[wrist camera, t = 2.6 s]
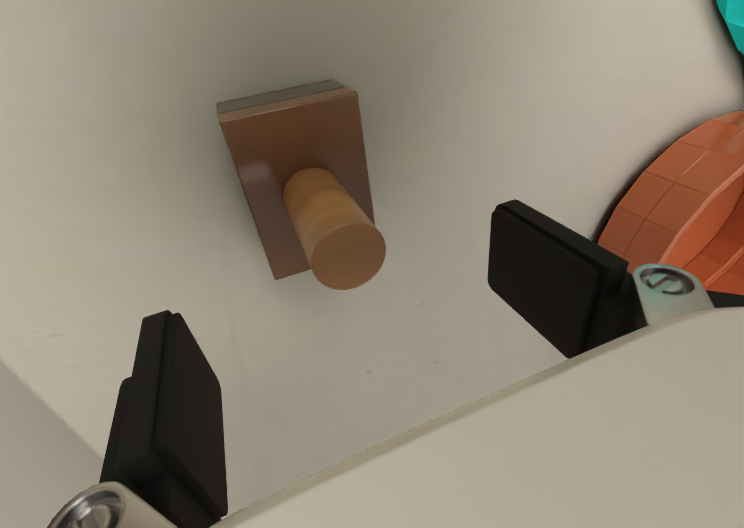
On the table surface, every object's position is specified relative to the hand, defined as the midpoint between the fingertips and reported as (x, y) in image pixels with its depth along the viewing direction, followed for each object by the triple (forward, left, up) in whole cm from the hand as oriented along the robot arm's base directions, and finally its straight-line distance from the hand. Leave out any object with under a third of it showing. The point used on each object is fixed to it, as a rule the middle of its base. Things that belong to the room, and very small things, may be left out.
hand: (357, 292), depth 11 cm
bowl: (+11, +29, -9) cm, 33 cm away
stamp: (-1, 0, -9) cm, 9 cm away
